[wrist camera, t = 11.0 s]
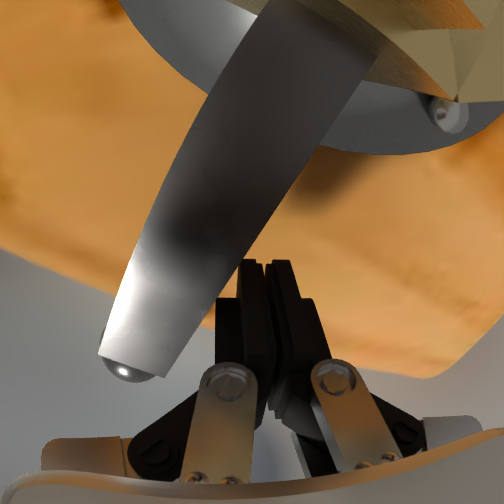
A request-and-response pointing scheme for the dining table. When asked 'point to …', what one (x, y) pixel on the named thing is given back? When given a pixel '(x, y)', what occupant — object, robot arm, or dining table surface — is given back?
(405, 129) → the cap plate
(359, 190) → the dining table surface
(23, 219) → the dining table surface
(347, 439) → the robot arm
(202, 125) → the castle nut fixture
